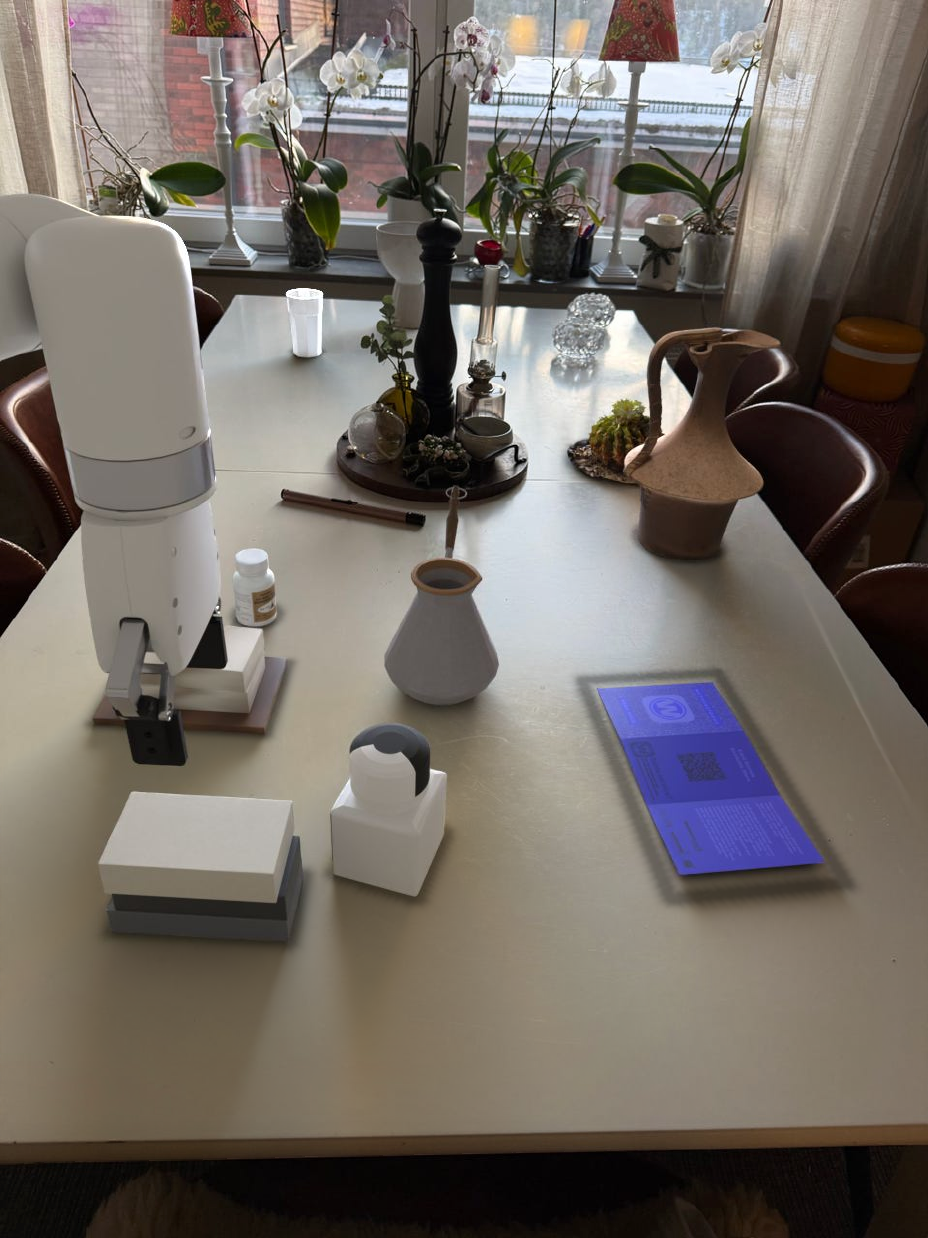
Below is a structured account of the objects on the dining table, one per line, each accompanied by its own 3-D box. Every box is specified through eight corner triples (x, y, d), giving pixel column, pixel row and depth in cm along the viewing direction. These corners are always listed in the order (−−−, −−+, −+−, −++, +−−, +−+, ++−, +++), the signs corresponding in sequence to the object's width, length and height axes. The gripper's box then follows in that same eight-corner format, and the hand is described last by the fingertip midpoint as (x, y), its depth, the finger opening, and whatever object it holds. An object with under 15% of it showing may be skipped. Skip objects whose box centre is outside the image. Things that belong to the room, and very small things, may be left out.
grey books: (111, 933, 68) (100, 887, 66) (138, 869, 73) (128, 824, 71) (288, 943, 68) (284, 898, 66) (303, 879, 73) (300, 834, 71)
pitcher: (636, 580, 114) (675, 352, 98) (592, 515, 128) (620, 306, 112) (768, 570, 117) (826, 348, 102) (711, 508, 131) (755, 304, 115)
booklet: (712, 682, 97) (713, 676, 97) (822, 868, 77) (825, 862, 76) (596, 688, 95) (597, 683, 95) (678, 881, 75) (679, 875, 74)
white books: (93, 726, 87) (82, 674, 84) (132, 656, 96) (123, 607, 93) (265, 736, 87) (260, 685, 84) (287, 665, 96) (283, 617, 93)
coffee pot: (495, 723, 90) (506, 591, 82) (376, 714, 90) (375, 582, 82) (501, 604, 108) (510, 485, 100) (402, 597, 108) (403, 478, 100)
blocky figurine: (365, 813, 80) (363, 703, 73) (445, 834, 78) (450, 723, 71) (331, 876, 74) (326, 762, 67) (417, 899, 72) (420, 786, 66)
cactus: (549, 445, 147) (555, 384, 141) (640, 436, 151) (649, 378, 146) (595, 492, 133) (604, 428, 128) (693, 482, 138) (706, 419, 132)
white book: (104, 893, 65) (97, 864, 64) (137, 820, 71) (131, 791, 69) (276, 903, 65) (273, 874, 64) (294, 829, 71) (292, 800, 69)
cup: (309, 360, 174) (306, 300, 168) (282, 353, 177) (278, 293, 171) (332, 352, 179) (330, 293, 173) (305, 344, 182) (302, 286, 176)
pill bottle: (265, 631, 101) (259, 570, 97) (229, 623, 102) (222, 561, 98) (284, 611, 105) (280, 550, 100) (249, 602, 106) (243, 542, 101)
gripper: (127, 405, 58) (166, 632, 68) (3, 538, 44) (75, 804, 53) (247, 410, 58) (269, 637, 67) (164, 545, 44) (207, 810, 53)
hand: (184, 710), depth 60 cm, fingers open, 9 cm apart
